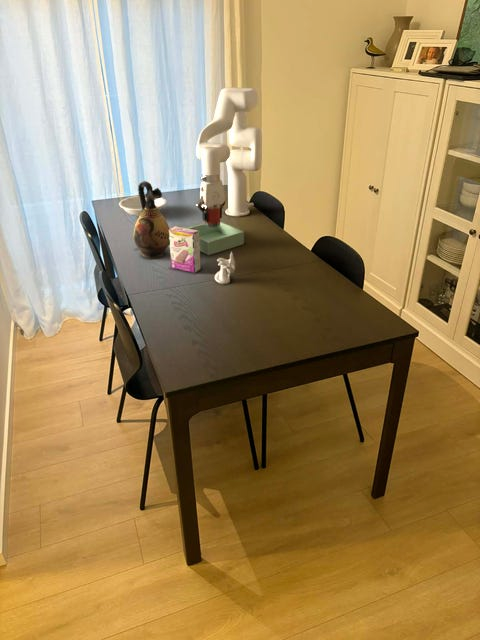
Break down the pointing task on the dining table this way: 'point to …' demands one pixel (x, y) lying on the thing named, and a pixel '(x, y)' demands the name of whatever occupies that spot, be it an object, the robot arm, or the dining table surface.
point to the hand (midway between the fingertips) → (212, 218)
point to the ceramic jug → (150, 224)
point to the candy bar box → (184, 249)
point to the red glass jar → (213, 216)
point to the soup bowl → (139, 205)
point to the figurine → (225, 270)
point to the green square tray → (218, 238)
